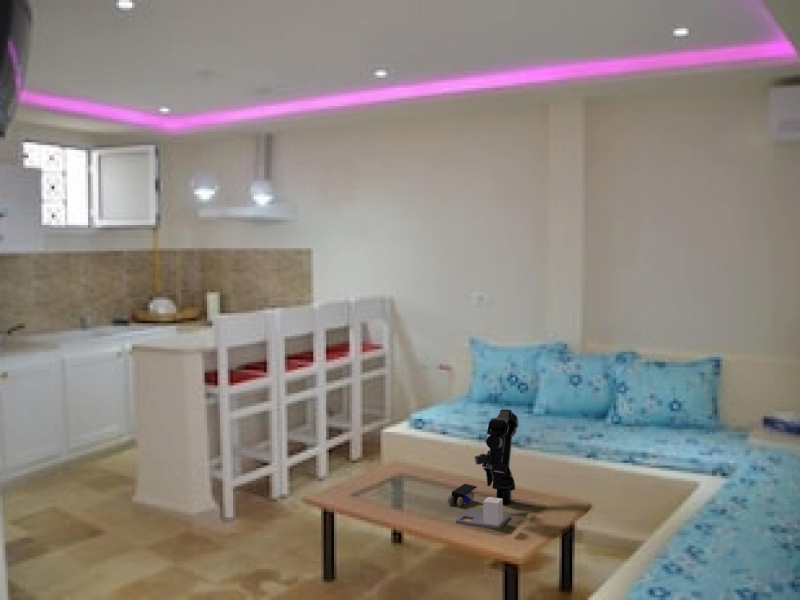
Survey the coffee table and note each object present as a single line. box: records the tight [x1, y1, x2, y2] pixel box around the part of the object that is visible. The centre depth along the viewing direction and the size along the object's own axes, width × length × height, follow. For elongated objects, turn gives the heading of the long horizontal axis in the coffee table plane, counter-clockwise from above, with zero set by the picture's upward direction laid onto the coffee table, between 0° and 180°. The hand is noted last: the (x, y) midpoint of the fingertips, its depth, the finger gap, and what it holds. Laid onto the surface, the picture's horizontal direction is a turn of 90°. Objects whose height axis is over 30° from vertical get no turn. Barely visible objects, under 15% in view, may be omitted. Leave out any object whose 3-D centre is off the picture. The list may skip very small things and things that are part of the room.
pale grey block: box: [482, 496, 504, 526], centre depth 280 cm, size 6×6×11 cm
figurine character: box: [447, 483, 478, 507], centre depth 308 cm, size 7×8×15 cm
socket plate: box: [455, 508, 511, 530], centre depth 286 cm, size 14×18×2 cm
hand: (491, 487), depth 294 cm, fingers open, 9 cm apart
